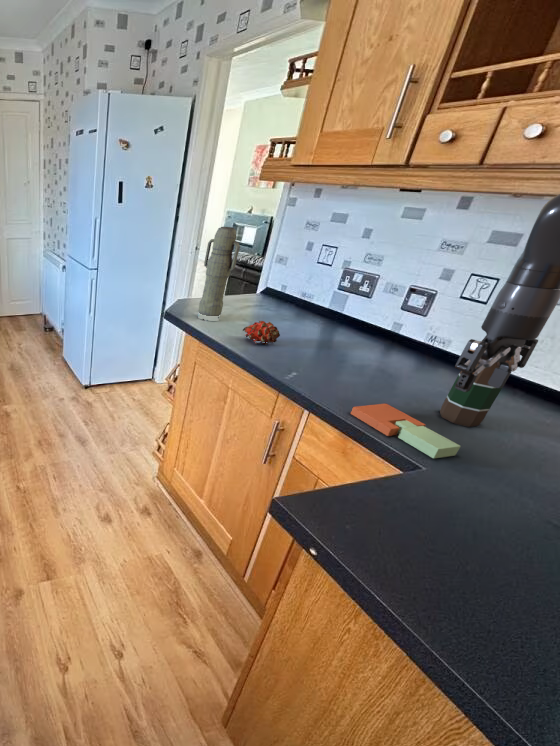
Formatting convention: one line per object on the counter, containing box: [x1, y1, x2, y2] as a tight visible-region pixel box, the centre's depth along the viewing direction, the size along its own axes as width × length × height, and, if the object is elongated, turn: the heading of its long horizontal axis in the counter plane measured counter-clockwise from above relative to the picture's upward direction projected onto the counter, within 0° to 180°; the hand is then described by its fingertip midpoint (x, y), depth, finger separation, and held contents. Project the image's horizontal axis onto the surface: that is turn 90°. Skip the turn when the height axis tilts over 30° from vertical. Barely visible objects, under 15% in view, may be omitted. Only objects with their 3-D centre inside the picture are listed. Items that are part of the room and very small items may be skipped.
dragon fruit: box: [242, 320, 281, 345], centre depth 144 cm, size 8×8×12 cm
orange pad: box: [350, 403, 426, 437], centre depth 99 cm, size 10×10×2 cm
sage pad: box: [395, 420, 461, 459], centre depth 91 cm, size 6×11×2 cm, turn 12°
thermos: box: [197, 226, 241, 322], centre depth 161 cm, size 9×12×35 cm
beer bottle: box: [439, 358, 503, 428], centre depth 96 cm, size 8×8×24 cm
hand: (477, 388), depth 82 cm, fingers open, 8 cm apart
